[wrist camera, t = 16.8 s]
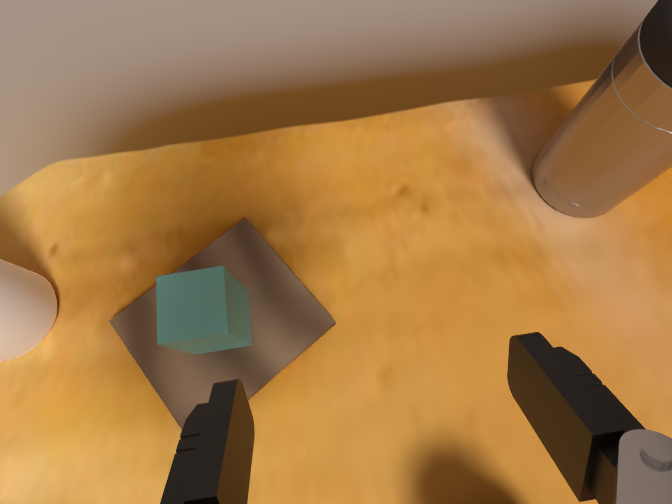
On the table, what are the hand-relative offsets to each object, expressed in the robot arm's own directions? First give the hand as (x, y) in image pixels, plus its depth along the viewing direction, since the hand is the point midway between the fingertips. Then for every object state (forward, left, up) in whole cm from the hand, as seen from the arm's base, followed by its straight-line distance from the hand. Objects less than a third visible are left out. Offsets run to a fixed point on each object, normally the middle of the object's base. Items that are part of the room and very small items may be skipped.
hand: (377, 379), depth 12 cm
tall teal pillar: (+6, -13, -25) cm, 29 cm away
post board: (+6, -13, -27) cm, 30 cm away
